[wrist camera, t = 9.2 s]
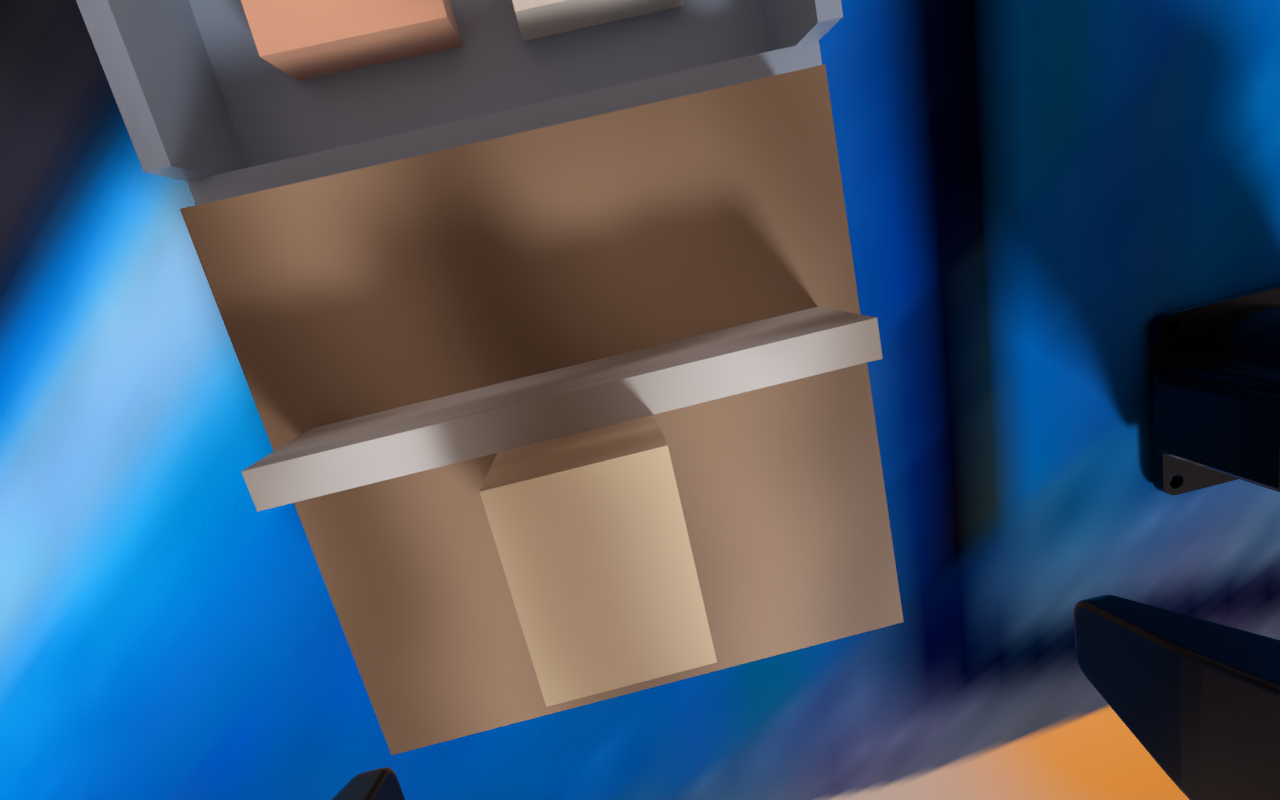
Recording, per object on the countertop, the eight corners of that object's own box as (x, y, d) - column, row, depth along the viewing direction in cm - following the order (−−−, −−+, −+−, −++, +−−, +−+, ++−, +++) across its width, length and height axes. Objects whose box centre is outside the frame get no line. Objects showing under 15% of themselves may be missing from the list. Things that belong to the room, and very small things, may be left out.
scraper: (817, 306, 14) (937, 328, 10) (846, 492, 15) (967, 597, 11) (312, 428, 14) (168, 515, 9) (380, 610, 15) (282, 775, 10)
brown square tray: (760, 117, 18) (825, 64, 13) (830, 540, 21) (903, 622, 16) (291, 223, 18) (180, 209, 13) (436, 640, 21) (392, 755, 16)
